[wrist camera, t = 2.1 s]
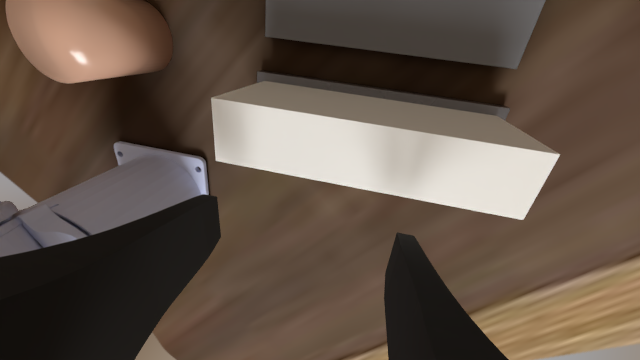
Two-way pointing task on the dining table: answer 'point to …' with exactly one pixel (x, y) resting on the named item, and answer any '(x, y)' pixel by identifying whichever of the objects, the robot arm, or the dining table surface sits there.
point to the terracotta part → (90, 37)
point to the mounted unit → (383, 142)
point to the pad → (412, 27)
